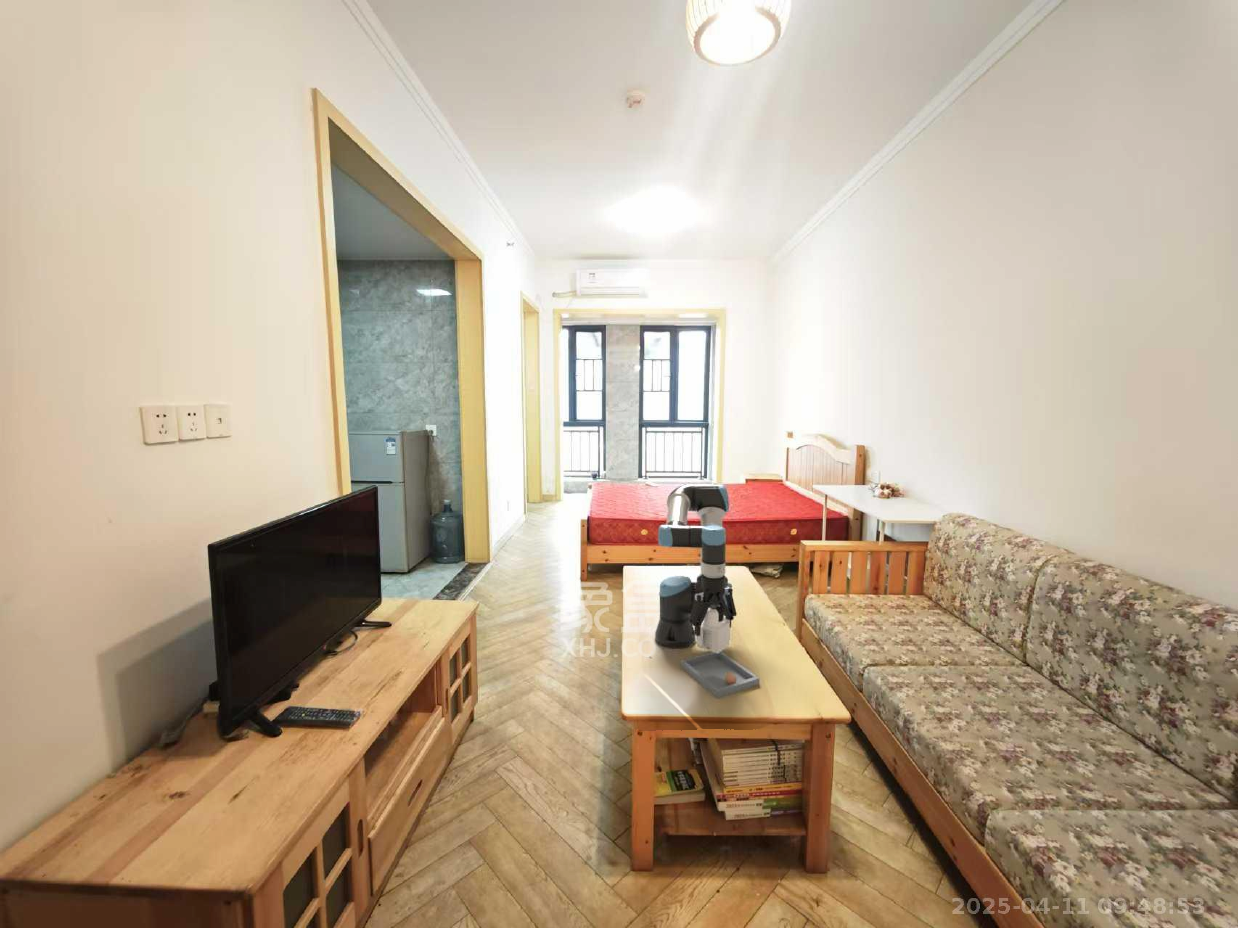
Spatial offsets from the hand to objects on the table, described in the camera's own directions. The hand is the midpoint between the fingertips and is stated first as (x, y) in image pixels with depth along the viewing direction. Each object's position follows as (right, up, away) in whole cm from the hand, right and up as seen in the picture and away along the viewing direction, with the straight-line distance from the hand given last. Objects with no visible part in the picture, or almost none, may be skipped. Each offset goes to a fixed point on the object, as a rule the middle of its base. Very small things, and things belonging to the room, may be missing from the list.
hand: (713, 641), depth 155 cm
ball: (+4, -11, -7) cm, 14 cm away
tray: (+2, -11, -1) cm, 12 cm away
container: (0, -2, 0) cm, 2 cm away
